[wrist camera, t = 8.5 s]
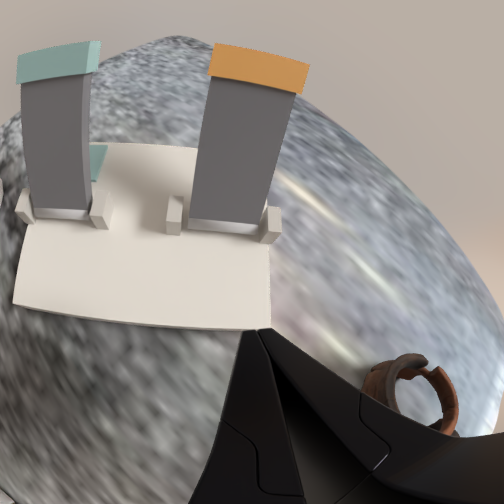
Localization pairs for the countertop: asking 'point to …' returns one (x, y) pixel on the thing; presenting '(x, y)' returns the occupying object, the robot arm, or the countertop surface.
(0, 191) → the white cup
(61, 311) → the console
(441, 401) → the pottery mug
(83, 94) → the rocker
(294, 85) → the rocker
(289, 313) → the countertop surface
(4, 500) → the sprinkles bottle
